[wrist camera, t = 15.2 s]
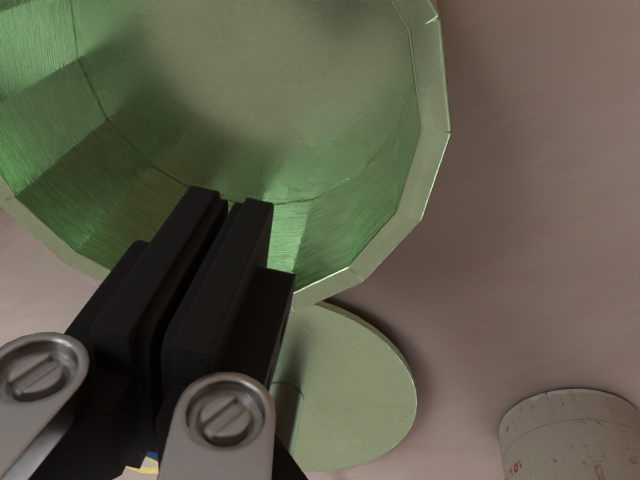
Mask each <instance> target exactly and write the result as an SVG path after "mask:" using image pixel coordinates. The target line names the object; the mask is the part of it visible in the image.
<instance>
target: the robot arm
mask: <svg viewBox="0 0 640 480" xmlns="http://www.w3.org/2000/svg"><path fill="white" fill-rule="evenodd" d="M273 214H274V203H271V202H267V201H262V200H258V199H253V198H248V197H247V198H246V199H245V201H244V203H243V204H242V203H237V202H235V203H234V204H233V206H232V208H231V210H230V212H229V214H228V201H227V200H224V199H220V192H219V191H216V190H211V189H207V188H202V187H197V186H190V187H189V188H188V189H187V191H186V192H185V194H184V195H183V196H182V198H181V199H180V201H179V202H178V204H177V205H176V206H175V208H174V209H173V211H172V212H171V213H170V215H169V216H168V218H167V219H166V220H165V222H164V223H163V225H162V226H161V228H160V229H159V230H158V232H157V233H156V235H155V236H154V237H153V239H152V240H151V242H147V241H142V240H137V241H134V242H133V243H132V244H131V245H130V247H129V248H128V249H127V251H126V252H125V253H124V255H123V256H122V257H121V259H120V260H119V261H118V263H117V264H116V265H115V266H114V268H113V269H112V270H111V272H110V273H109V274H108V276H107V277H106V278H105V280H104V281H103V282H102V284H101V285H100V286H99V288H98V289H97V290H96V292H95V293H94V294H93V296H92V297H91V298H90V300H89V301H88V302H87V304H86V305H85V306H84V308H83V309H82V310H81V312H80V313H79V314H78V315H77V317H76V318H75V319H74V321H73V322H72V323H71V325H70V326H69V327H68V329H67V330H66V331H65V333H64V334H60V333H56V332H44V333H35V334H30V335H26V336H22V337H20V338H17V339H15V340H13V341H11V342H8V343H6V344H5V345H3V346H2V347H1V348H0V480H113V479H115V478H117V477H119V476H120V475H122V473H123V471H124V469H125V467H126V466H128V467H132V468H137V469H140V468H141V465H142V463H143V461H144V459H145V457H146V454H147V452H151V453H157V452H158V476H157V480H308V479H307V477H306V476H305V474H304V473H303V472H302V470H301V469H300V467H299V466H298V464H297V463H296V462H295V460H294V459H293V457H292V456H291V454H290V453H289V452H288V450H287V449H286V447H285V446H284V444H283V443H282V442H281V440H280V439H279V437H278V436H277V434H276V433H275V421H276V413H275V404H274V401H273V399H272V397H271V395H270V393H269V391H270V387H271V383H272V380H273V376H274V372H275V369H276V365H277V361H278V358H279V354H280V350H281V347H282V343H283V339H284V335H285V331H286V327H287V322H288V318H289V313H290V309H291V303H292V298H293V292H294V287H295V281H296V274H293V273H289V272H284V271H280V270H275V269H271V268H267V260H268V253H269V245H270V237H271V230H272V222H273Z"/></svg>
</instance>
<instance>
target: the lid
mask: <svg viewBox="0 0 640 480" xmlns="http://www.w3.org/2000/svg"><path fill="white" fill-rule="evenodd" d="M269 393H270V395H271V397H272V399H273V401H274V404H275V413H276V421H275V433H276V434H277V436H278V437H279V439H280V440H281V442H282V443H283V444H284V446H285V447H286V449H287V450H288V452H289V453H290V454H291V456H292V457H293V459H294V460H295V462H296V463H297V464H298V466H299V467H300V469H301V470H302V471H303V472H320V471H333V470H341V469H346V468H350V467H355V466H358V465H361V464H364V463H367V462H370V461H372V460H374V459H376V458H378V457H380V456H382V455H384V454H385V453H387V452H389V451H390V450H391V449H393V448H394V447H395V446H396V445H397V444H399V443H400V441H401V440H402V439H403V438H404V437H405V436H406V434H407V433H408V431H409V429H410V428H411V426H412V424H413V421H414V418H415V415H416V409H417V390H416V383H415V380H414V376H413V373H412V371H411V369H410V367H409V365H408V363H407V361H406V359H405V358H404V357H403V355H402V354H401V352H400V351H399V350H398V348H397V347H396V346H395V345H394V344H393V343H392V342H391V341H390V340H389V339H388V338H387V337H386V336H385V335H384V334H382V333H381V332H380V331H379V330H377V329H376V328H375V327H374V326H372V325H371V324H369V323H368V322H366V321H365V320H363V319H361V318H360V317H358V316H356V315H354V314H352V313H350V312H348V311H346V310H344V309H342V308H340V307H337V306H335V305H332V304H329V303H327V302H324V301H320V302H317V303H315V304H313V305H311V306H309V307H306V308H304V309H302V310H300V311H297V312H296V311H295V312H293V313H289V318H288V322H287V327H286V331H285V335H284V339H283V343H282V347H281V350H280V354H279V358H278V361H277V365H276V369H275V372H274V376H273V380H272V383H271V387H270V391H269Z"/></svg>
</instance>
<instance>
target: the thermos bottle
mask: <svg viewBox="0 0 640 480" xmlns="http://www.w3.org/2000/svg"><path fill="white" fill-rule="evenodd" d="M498 438H499V444H500V451H501V457H502V463H503V469H504V475H505V480H640V413H639V412H638V411H637V410H636V409H635V407H634V406H632V405H631V404H629V403H628V402H627V401H625V400H624V399H621V398H619V397H617V396H615V395H613V394H609V393H605V392H602V391H597V390H589V389H563V390H554V391H550V392H545V393H541V394H538V395H535V396H533V397H530V398H528V399H526V400H524V401H522V402H520V403H518V404H517V405H515V406H514V407H513V408H512V409H511V410H509V411H508V412H507V414H506V415H505V416H504V417H503V419H502V421H501V423H500V426H499V431H498Z"/></svg>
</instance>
